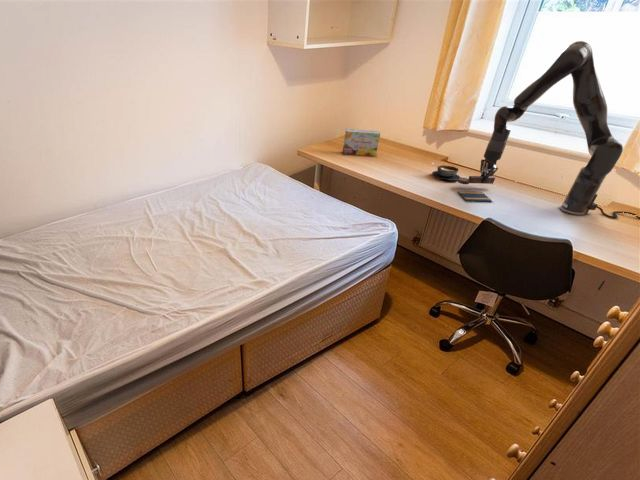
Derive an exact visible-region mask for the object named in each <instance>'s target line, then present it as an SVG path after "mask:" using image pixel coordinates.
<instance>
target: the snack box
mask: <svg viewBox="0 0 640 480" xmlns="http://www.w3.org/2000/svg"><path fill="white" fill-rule="evenodd" d="M380 137H381V131H379V130H365V129H352V128H346V129H345V132H344V139H343V147H342V155H351V156H361V157H362V156H363V157H372V158H373V157H375V158H376V157H377V153H378V148H379V144H380V143H379V142H380Z"/></svg>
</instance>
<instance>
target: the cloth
mask: <svg viewBox="0 0 640 480" xmlns="http://www.w3.org/2000/svg"><path fill="white" fill-rule="evenodd" d="M456 193H457V194H458V195H459V196H460V197H461V198H462V199H463V200H464V201H465V202H466V203H467V202H469V203H470V202H471V203H492V202H493V201H492V199H491V198H490V197H489V196H487V195H486V194H485V193H484V192H483V191H467V190H466V191H463V190H458V191H457V192H456Z"/></svg>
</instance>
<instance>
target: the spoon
mask: <svg viewBox="0 0 640 480" xmlns="http://www.w3.org/2000/svg"><path fill="white" fill-rule="evenodd" d="M483 177H484V176H481V175H468V177H461V178H459V179H458V180H457V183H459V184H461V185H469V184H482V185H483V184H487V185H488V184H489V185H494V183H495V181H496V177H495V176H494V175H493V176H489V178H488V180H487V183H482V180H483Z"/></svg>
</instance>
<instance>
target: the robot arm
mask: <svg viewBox="0 0 640 480" xmlns="http://www.w3.org/2000/svg"><path fill="white" fill-rule="evenodd" d="M570 75H571V78H572V104H573V108H574V110H575V111H574V112H575V113H576V116H577V118H578V121H579V123H580V125H581V128H582V130H583V132H584V135H585V139H586V145H587V152H588V154H589V155H590V159H589V160H588V162H587V163H586V165H585V166H582V167H581V168H580V170H579V172H578V174H577V175H576V177H575V179H574V181H573V183H572V185H571V187H570V189H569V191H568V193H567V194H566V196H565V198H564V201H562V203H561V205H560V207H559V209H560V210H561V211H563V212H564V213H567V214H570V215H574V216H583V215H588V214H589V211H595V210H597V209H598V210H600V213H601V214H602V215H603V216H605V217H608V218H610V219H617V218H618V215H617V214H627V213H628V214H627V215H631V214H632V216H634V215H637V214H636V213H634V212H630V211H621V210H620V211H619V210H615V211H613V212H612V215H609V214H607V213H605V212H604V210H603V208H602V207H600V206H598V204H597V203H595V201H596V199H597V197H598V194H597V193H598V191H599V190H600V188H601V186H602V184H603V182H604V180H605V179H606V177H607V175H609V174H610V173H611V172H612V170H613V169H614V168H615V165H616V164H617V162H618V161H619V159H620V157H621V156H622V154H623V151H624V146H623V145H622V143H621V142H620V141H618V140H616V139H615V138H614V136H613V134H612V133H611V130H610V128H609V125H608V105H607V101H606V98H605V94H604V92H603V89H602V86H601V83H600V80H599V77H598V75H597V71H596V66H595V60H594V54H593V49H592V46H591V45H590V43H588V42H586V41H583V40H578V41H574V42H573V43H571V44H569V45H568V46H567V47H566V48H564V50H563V51H562V52H561V53H559V55H558V57H557V59H555V61H554V62H553V63H552V64H551V65H550V67H548V69H547V70H546V71H545V72H544V73H543V74H542V75H540V77H538V78H537V79H536V80H535V81H533V82H532V83H530V84H529V85H528V86H527V87H526V88H524V89H523V90H522V91H521V92H520V93H519V94H518V95H517V96H516V97H514V100H513V105H506V106H505V105H504V106H502V107H500V108H498V110H496V112H495V114H494V120H493V121H494V122H493V131H492V134H491V136H490V139H489V141H488V143H487V145H486V148H485V151H484V154H483V158H484V159H483V158H482V159H481V160H480V168H479V171H480V174H481V175H480V176H484V177H483V180H482V183H487V180H488V178H489V176H493V177H494V175H495V173H496V172H497V171H498V169H499V168H498V167H497V162H498V161H499V160H501V158H502V156H503V154H504V151H505V148H506V146H507V142H508V139H509V136H510V134H511V131H512V130H511V128H510V127H508V126H507V123H511V122H515V121H518V120H519V119H520V118H521V117H522V116H523V115H524V114H525V112H526V111H527V110H528V109H529V107H530V106H532V105H533V104H535V102H536V101H538V100H539V99H540V98H541V97H543V95H545V94H546V93H547V92H548V91H549V90H550V89H551V88H552V87H554V86H555V85H556V84H557V83H559V82H561V80H563V79H565V78H566V77H568V76H570ZM482 183H481V184H482ZM623 212H624V213H623ZM638 216H639V215H638ZM638 216H635V218H637V219H638V220H640V216H639V217H638ZM605 282H606V280H603V281H602V283H601V284H599V286H598V288H597V291H600V290H601V288H603V285H604V284H605Z"/></svg>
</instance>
